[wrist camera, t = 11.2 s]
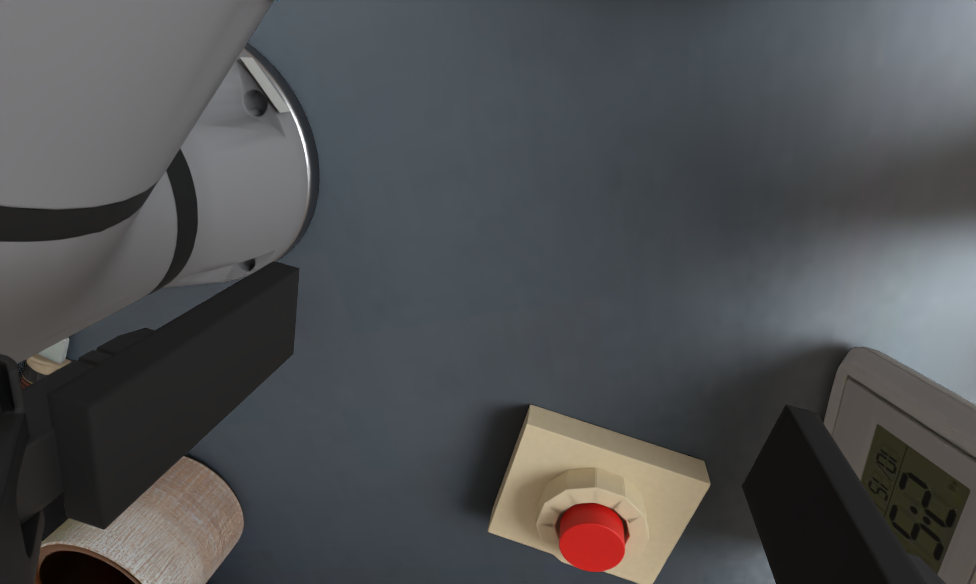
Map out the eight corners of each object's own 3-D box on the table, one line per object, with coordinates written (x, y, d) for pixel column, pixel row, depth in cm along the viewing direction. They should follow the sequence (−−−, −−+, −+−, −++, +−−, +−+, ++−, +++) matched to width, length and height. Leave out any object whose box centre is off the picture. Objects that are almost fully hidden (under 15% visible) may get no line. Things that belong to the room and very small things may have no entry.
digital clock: (845, 325, 30) (965, 447, 21) (1015, 362, 29) (1223, 507, 20) (743, 530, 37) (797, 695, 27) (879, 565, 36) (985, 748, 26)
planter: (127, 430, 44) (11, 521, 35) (251, 470, 43) (164, 573, 34) (134, 524, 48) (33, 625, 39) (246, 562, 47) (168, 673, 39)
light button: (552, 537, 35) (550, 559, 34) (571, 493, 34) (570, 515, 32) (610, 557, 35) (611, 580, 34) (633, 514, 34) (635, 536, 32)
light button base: (492, 508, 40) (482, 552, 37) (530, 403, 36) (523, 441, 32) (647, 561, 39) (653, 611, 36) (704, 460, 35) (717, 505, 32)
